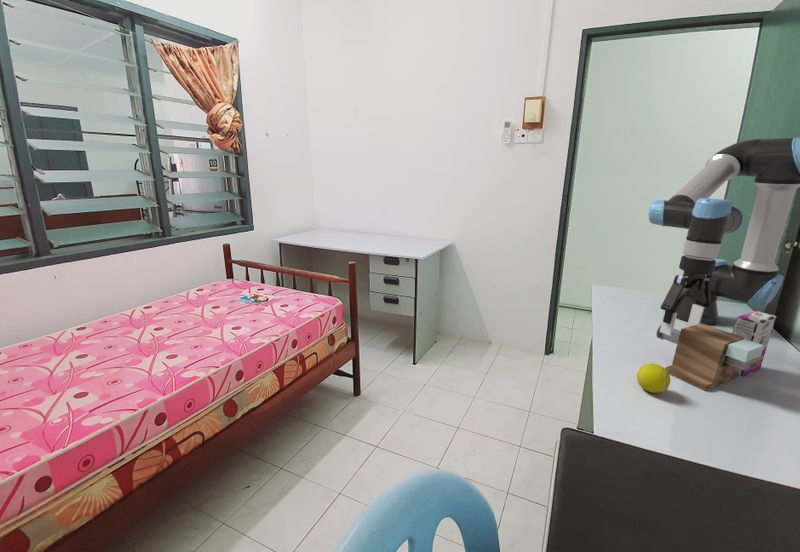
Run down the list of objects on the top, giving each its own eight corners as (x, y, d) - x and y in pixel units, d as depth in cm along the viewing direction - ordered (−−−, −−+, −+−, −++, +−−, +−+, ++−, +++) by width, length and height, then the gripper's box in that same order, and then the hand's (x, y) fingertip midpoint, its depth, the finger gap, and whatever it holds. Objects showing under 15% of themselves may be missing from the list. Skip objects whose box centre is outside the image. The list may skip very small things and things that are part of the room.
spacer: (741, 349, 100) (744, 338, 99) (760, 356, 97) (764, 345, 96) (725, 355, 97) (728, 344, 96) (744, 362, 93) (748, 351, 92)
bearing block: (696, 361, 114) (707, 321, 110) (736, 377, 105) (750, 335, 102) (664, 372, 106) (674, 330, 103) (704, 390, 98) (718, 346, 94)
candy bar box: (739, 361, 114) (755, 309, 110) (760, 369, 110) (778, 316, 105) (720, 369, 109) (736, 315, 105) (741, 378, 105) (759, 322, 100)
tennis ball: (631, 390, 97) (637, 365, 95) (637, 379, 102) (642, 355, 100) (664, 401, 93) (671, 376, 91) (668, 389, 98) (674, 365, 96)
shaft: (663, 336, 116) (667, 322, 114) (750, 369, 97) (755, 354, 96) (655, 338, 114) (658, 325, 112) (741, 373, 95) (746, 357, 94)
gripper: (708, 251, 112) (689, 319, 118) (657, 256, 101) (639, 331, 107) (739, 257, 106) (717, 328, 111) (688, 263, 95) (667, 342, 100)
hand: (679, 330), depth 109 cm, fingers open, 13 cm apart
